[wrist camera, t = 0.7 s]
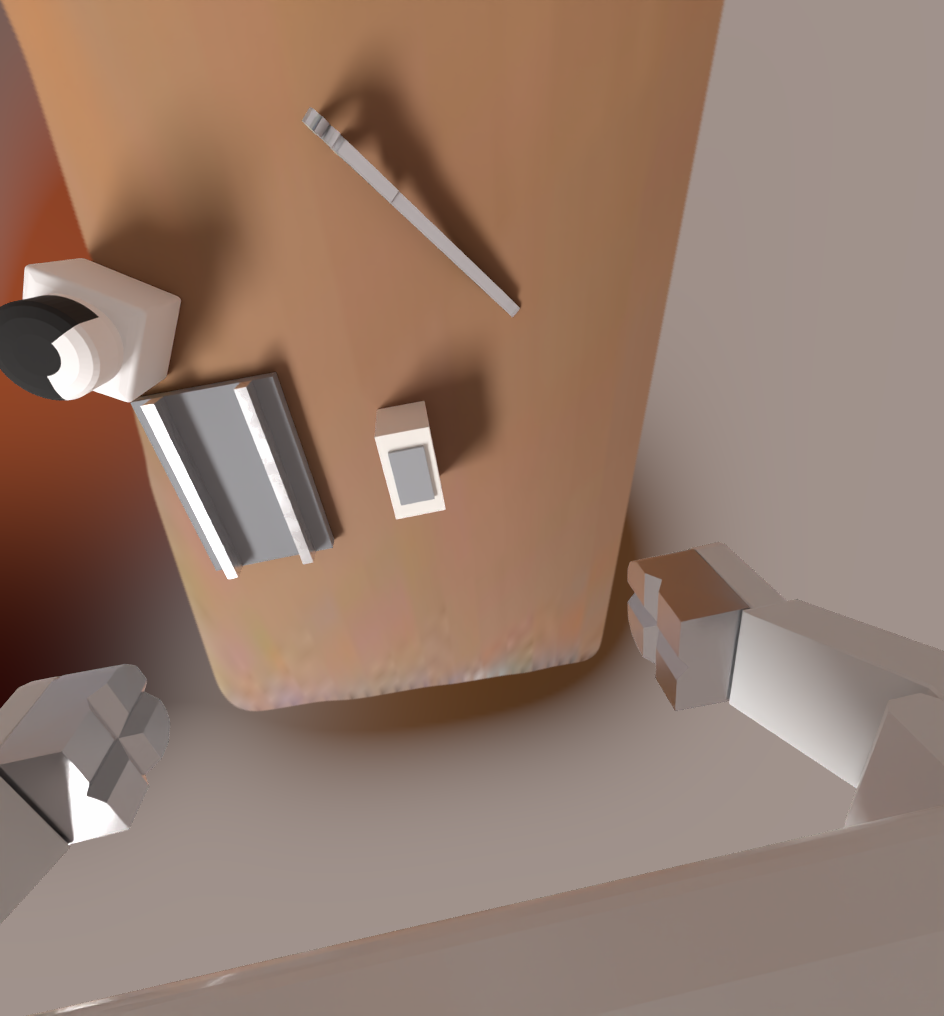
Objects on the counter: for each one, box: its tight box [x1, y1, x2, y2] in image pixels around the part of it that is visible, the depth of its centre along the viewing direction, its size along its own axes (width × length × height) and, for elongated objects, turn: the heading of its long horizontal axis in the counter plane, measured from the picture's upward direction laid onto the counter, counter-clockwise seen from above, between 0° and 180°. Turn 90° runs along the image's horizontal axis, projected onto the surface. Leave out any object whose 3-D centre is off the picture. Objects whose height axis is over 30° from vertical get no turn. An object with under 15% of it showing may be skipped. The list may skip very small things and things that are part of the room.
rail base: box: [131, 372, 334, 571], centre depth 48 cm, size 18×12×2 cm, turn 8°
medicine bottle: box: [0, 258, 181, 402], centre depth 36 cm, size 7×7×12 cm
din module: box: [375, 401, 446, 519], centre depth 46 cm, size 8×4×7 cm, turn 8°
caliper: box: [302, 107, 520, 317], centre depth 38 cm, size 20×1×6 cm, turn 50°
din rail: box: [141, 380, 316, 579], centre depth 46 cm, size 18×8×2 cm, turn 8°
